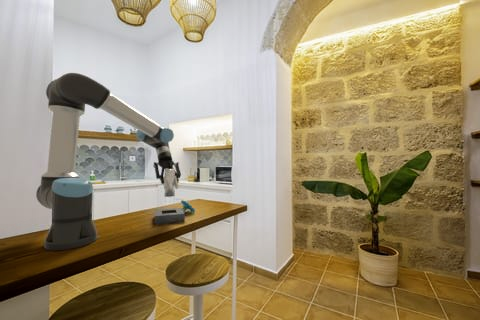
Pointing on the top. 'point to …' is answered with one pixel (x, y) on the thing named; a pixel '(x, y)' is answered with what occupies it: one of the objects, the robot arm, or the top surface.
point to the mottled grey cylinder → (170, 182)
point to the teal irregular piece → (187, 206)
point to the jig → (169, 216)
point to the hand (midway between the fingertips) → (171, 187)
